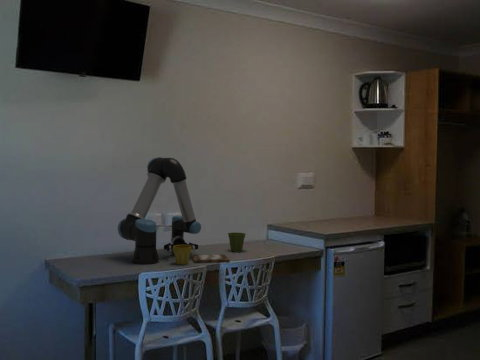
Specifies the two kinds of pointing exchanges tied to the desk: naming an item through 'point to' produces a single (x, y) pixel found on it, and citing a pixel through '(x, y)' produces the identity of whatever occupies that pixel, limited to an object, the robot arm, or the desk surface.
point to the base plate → (209, 258)
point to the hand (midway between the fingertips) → (182, 249)
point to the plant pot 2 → (236, 241)
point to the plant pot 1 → (182, 253)
